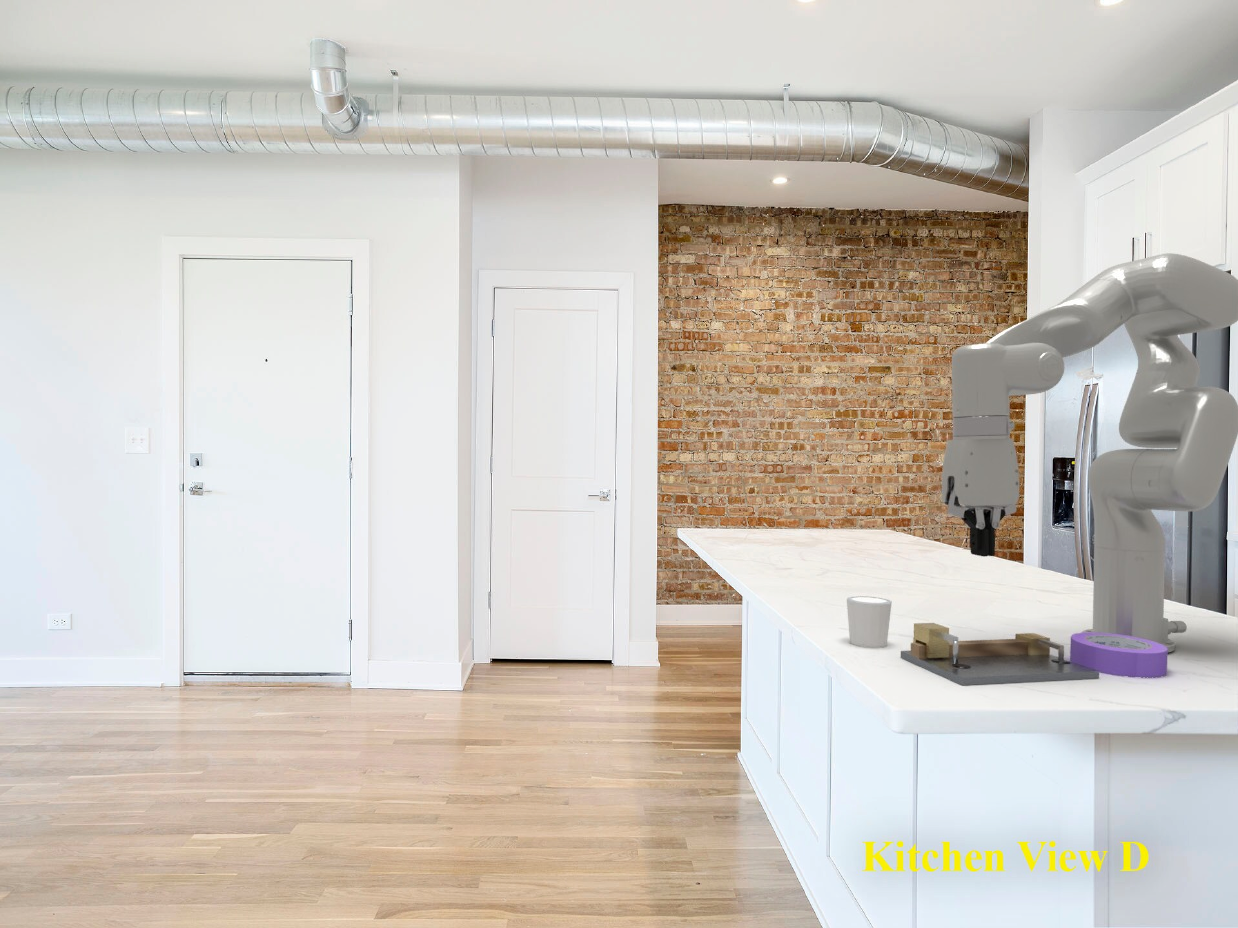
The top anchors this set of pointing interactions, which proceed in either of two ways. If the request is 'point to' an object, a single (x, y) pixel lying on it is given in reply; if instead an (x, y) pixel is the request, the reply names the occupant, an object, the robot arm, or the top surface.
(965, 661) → the plate
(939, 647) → the sliding head
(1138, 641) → the masking tape
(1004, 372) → the robot arm
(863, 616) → the light grey cup
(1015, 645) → the trammel beam
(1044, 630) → the top surface
